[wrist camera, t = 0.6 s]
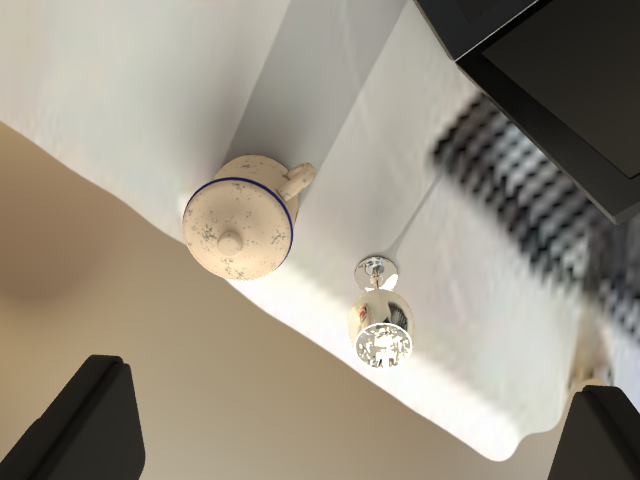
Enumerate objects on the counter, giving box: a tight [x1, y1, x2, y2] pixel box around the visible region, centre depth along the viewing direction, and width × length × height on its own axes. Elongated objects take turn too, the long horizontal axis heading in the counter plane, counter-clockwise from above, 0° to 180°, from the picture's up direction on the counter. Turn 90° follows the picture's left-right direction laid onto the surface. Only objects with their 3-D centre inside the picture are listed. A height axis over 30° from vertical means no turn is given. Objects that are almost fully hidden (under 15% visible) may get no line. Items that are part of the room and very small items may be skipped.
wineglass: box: [348, 257, 415, 370], centre depth 44 cm, size 6×6×12 cm
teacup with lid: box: [183, 155, 316, 281], centre depth 41 cm, size 12×9×12 cm
